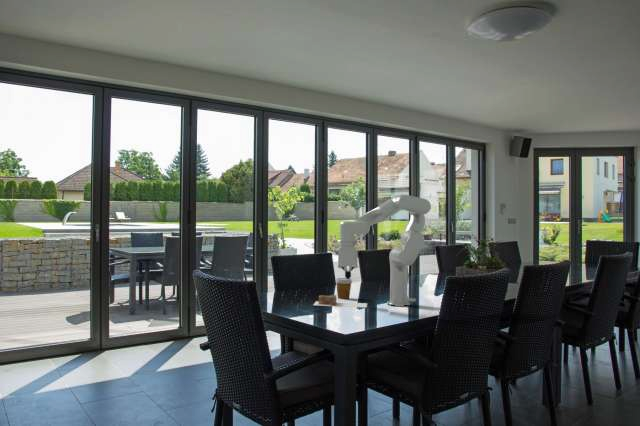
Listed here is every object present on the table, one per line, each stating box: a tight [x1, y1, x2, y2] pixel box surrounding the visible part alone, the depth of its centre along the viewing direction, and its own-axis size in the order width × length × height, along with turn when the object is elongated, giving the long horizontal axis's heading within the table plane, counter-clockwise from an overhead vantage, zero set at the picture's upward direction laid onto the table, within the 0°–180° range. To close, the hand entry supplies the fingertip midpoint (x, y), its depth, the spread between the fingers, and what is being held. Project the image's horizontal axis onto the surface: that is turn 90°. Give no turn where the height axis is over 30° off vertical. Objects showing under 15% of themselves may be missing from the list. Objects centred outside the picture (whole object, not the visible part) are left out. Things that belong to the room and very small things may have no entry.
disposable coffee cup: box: [335, 277, 353, 300], centre depth 279 cm, size 10×10×12 cm
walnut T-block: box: [318, 294, 337, 305], centre depth 261 cm, size 9×9×4 cm
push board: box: [313, 300, 368, 308], centre depth 260 cm, size 28×12×1 cm, turn 83°
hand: (348, 278), depth 260 cm, fingers closed
